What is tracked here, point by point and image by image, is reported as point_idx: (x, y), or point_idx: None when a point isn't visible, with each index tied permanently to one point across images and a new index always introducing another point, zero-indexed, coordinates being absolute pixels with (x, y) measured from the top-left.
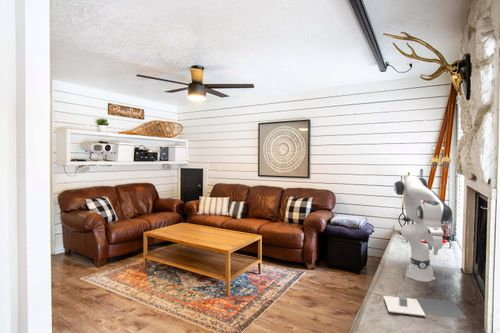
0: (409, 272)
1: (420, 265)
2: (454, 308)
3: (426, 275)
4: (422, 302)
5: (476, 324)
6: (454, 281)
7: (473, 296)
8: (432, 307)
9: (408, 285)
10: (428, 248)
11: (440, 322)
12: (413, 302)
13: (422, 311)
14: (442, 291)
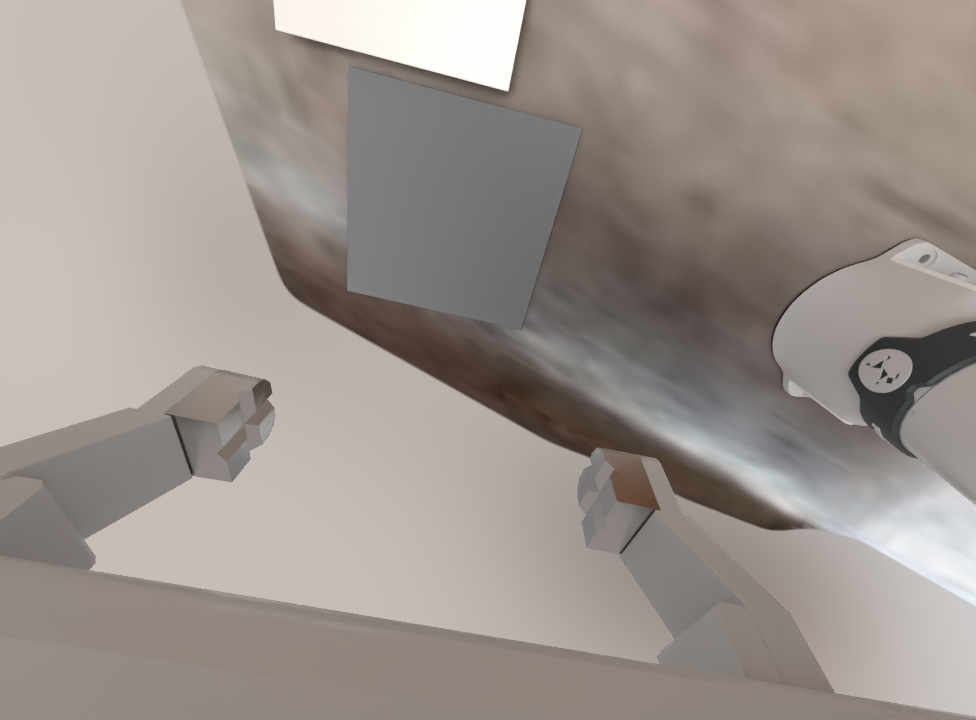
0: (923, 268)
1: (895, 356)
2: (444, 292)
3: (807, 351)
4: (507, 141)
5: (317, 302)
6: (726, 451)
7: (568, 434)
8: (443, 174)
9: (778, 181)
10: (644, 466)
11: (283, 128)
12: (454, 30)
13: (323, 34)
14: (639, 344)
